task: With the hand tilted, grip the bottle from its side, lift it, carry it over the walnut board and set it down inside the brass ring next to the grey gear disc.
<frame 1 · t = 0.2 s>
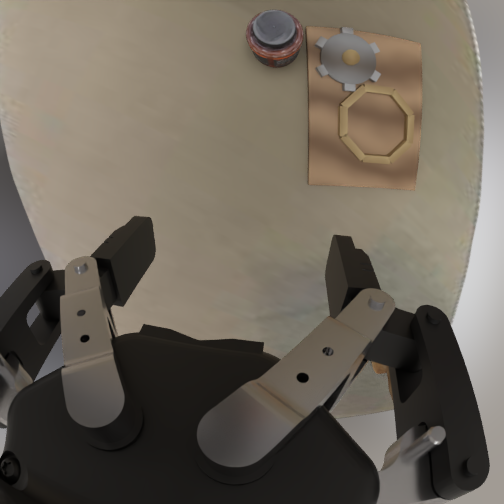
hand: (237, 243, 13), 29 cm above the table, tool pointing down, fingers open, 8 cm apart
board: (366, 108, 33), on the table
supplement bottle: (275, 47, 31), on the table
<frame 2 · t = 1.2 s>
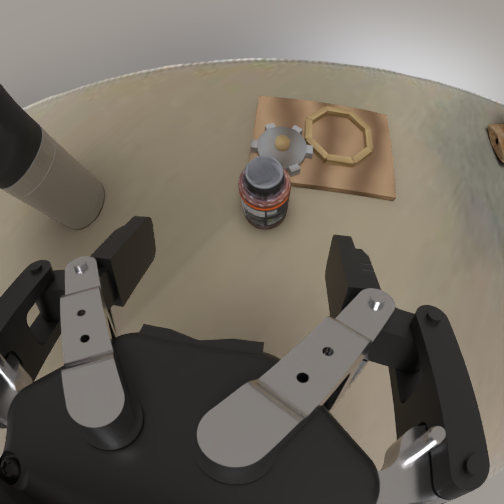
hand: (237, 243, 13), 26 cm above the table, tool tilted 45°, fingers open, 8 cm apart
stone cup: (503, 142, 42), on the table
board: (324, 144, 42), on the table
supplement bottle: (265, 210, 40), on the table
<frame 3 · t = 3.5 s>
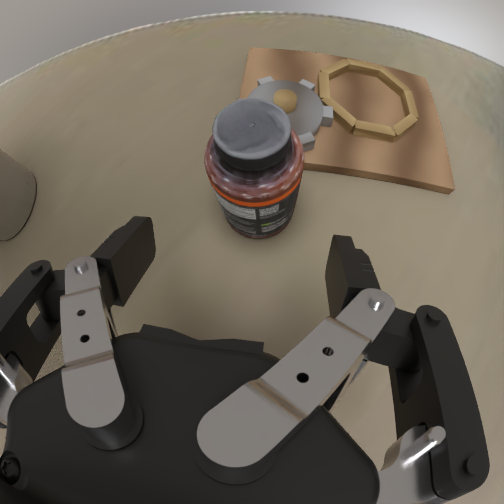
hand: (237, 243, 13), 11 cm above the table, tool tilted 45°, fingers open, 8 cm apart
board: (346, 110, 27), on the table
supplement bottle: (258, 207, 25), on the table
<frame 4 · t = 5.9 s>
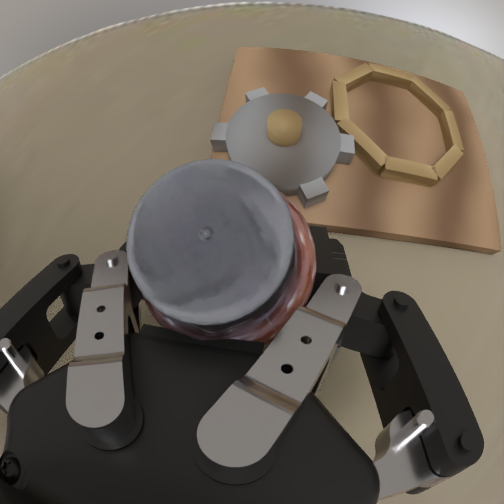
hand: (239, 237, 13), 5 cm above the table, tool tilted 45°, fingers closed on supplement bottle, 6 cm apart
board: (369, 135, 19), on the table
supplement bottle: (243, 287, 18), on the table, touching gripper
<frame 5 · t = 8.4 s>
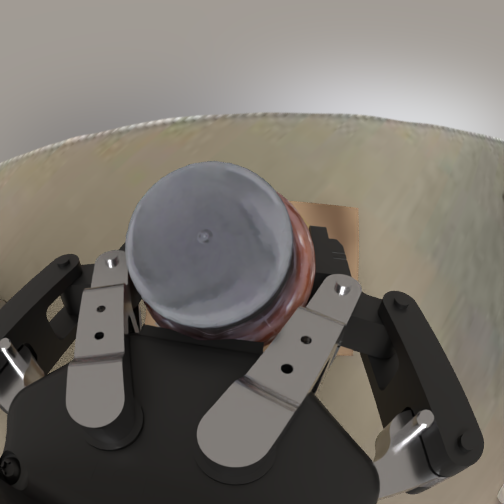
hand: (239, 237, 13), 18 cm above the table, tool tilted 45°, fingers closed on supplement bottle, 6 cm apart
board: (253, 273, 31), on the table
supplement bottle: (243, 289, 18), point 13 cm above the table, touching gripper
when the fingers open (7 cm above the table, at t = 11.4 s): supplement bottle drops 1 cm, resting on board.
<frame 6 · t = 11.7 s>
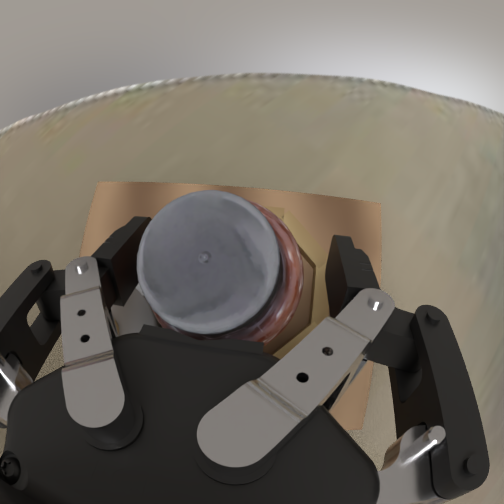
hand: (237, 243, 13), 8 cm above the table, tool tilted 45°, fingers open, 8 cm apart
board: (214, 302, 20), on the table
supplement bottle: (242, 293, 19), point 1 cm above the table, touching board
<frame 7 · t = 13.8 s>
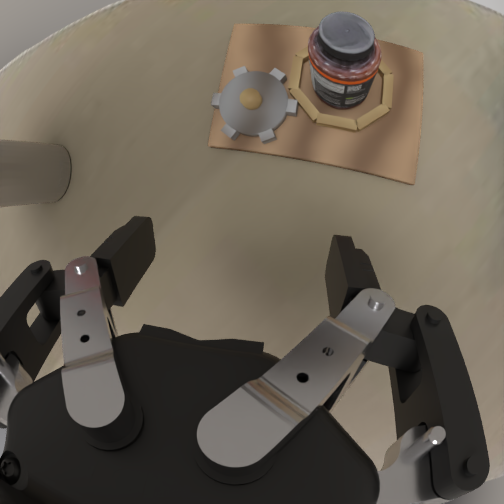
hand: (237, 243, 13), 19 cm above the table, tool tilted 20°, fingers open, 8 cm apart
board: (321, 92, 27), on the table
supplement bottle: (340, 86, 26), point 1 cm above the table, touching board
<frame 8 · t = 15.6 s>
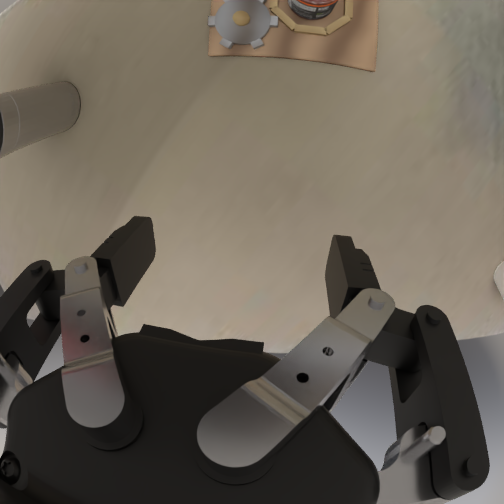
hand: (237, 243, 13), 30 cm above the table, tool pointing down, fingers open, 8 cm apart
board: (295, 7, 28), on the table
supplement bottle: (310, 2, 26), point 1 cm above the table, touching board
foam cup: (503, 271, 44), on the table
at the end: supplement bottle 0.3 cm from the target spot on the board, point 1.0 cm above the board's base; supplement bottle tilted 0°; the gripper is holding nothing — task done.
